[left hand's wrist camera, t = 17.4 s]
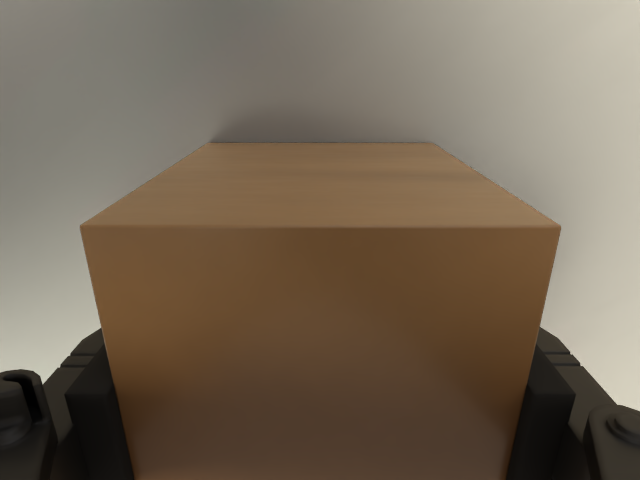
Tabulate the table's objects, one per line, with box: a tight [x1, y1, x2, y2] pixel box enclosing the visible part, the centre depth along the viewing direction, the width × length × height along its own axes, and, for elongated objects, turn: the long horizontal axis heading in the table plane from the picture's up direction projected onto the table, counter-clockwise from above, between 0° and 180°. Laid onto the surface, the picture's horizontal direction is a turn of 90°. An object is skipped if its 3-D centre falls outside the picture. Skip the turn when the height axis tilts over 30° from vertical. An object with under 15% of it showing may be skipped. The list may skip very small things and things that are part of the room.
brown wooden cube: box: [80, 143, 561, 480], centre depth 12 cm, size 9×8×8 cm
